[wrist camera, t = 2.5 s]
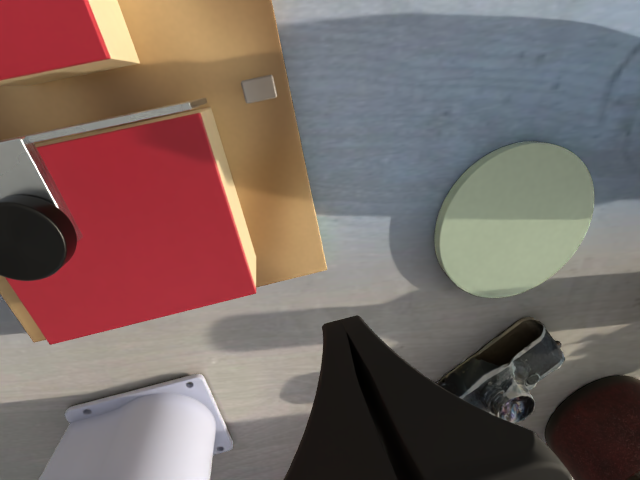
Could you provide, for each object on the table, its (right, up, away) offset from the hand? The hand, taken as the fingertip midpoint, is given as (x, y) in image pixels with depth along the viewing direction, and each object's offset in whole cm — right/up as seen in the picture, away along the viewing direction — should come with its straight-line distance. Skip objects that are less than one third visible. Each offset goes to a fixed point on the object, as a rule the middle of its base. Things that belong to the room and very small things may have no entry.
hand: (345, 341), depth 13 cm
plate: (+12, +5, +12) cm, 17 cm away
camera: (+13, -7, +17) cm, 23 cm away
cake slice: (-12, +13, +3) cm, 18 cm away
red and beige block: (-10, +5, +6) cm, 13 cm away
